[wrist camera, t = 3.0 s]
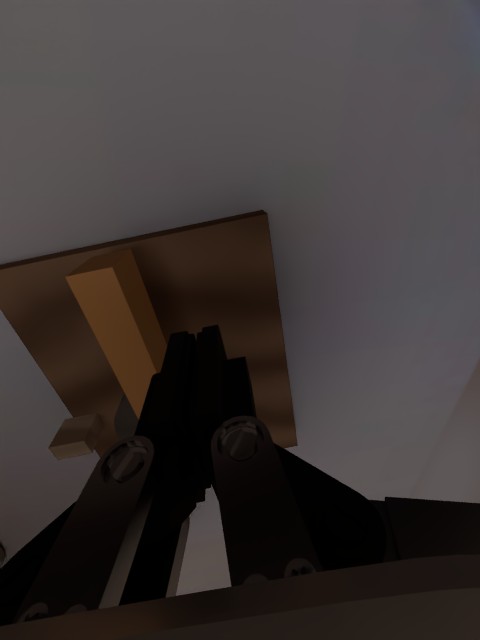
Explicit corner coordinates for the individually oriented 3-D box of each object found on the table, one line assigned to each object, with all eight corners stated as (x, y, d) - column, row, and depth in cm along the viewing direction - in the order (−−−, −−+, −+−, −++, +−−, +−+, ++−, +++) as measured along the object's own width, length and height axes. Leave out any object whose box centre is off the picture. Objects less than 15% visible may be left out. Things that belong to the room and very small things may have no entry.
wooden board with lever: (292, 430, 32) (305, 472, 28) (114, 465, 32) (99, 512, 28) (262, 210, 21) (276, 221, 16) (-14, 267, 21) (-74, 294, 17)
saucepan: (222, 417, 25) (223, 455, 21) (143, 433, 25) (133, 472, 22) (167, 240, 17) (157, 257, 14) (55, 264, 17) (19, 286, 14)
